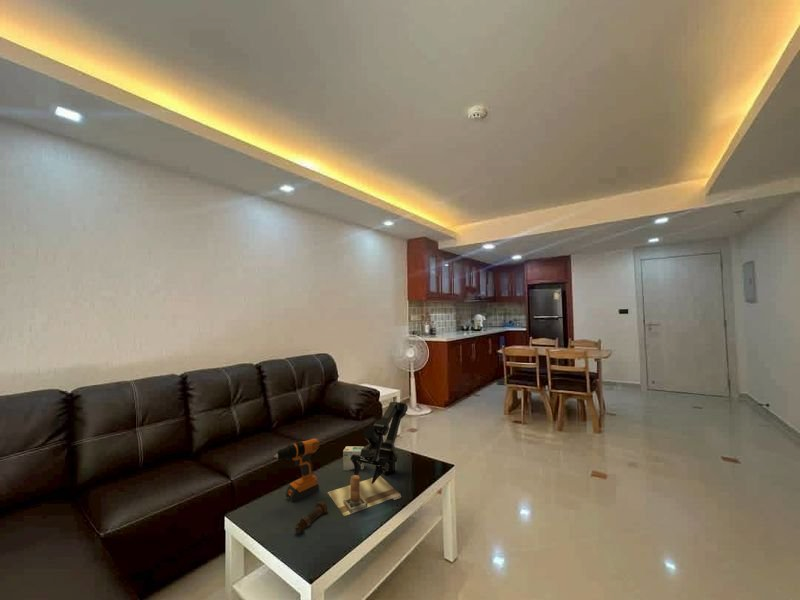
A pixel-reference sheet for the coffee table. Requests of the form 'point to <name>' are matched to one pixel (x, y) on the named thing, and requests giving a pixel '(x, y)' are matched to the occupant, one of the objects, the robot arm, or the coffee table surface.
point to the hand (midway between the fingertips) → (363, 481)
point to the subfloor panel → (364, 495)
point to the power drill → (302, 459)
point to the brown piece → (355, 490)
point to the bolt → (311, 517)
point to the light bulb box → (347, 455)
